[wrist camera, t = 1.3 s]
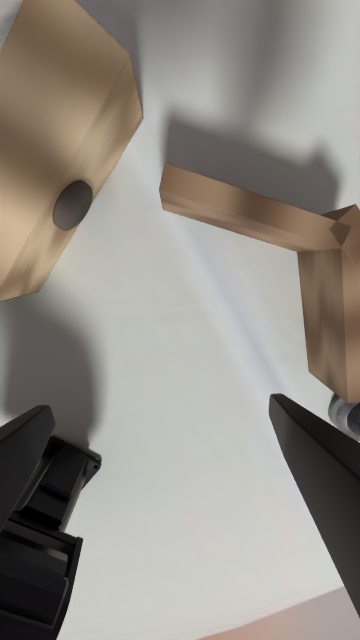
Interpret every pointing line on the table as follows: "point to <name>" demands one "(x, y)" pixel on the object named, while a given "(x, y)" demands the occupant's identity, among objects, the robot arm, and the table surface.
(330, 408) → the grey metal rounded post
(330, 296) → the v block
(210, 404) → the table surface
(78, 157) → the beam
